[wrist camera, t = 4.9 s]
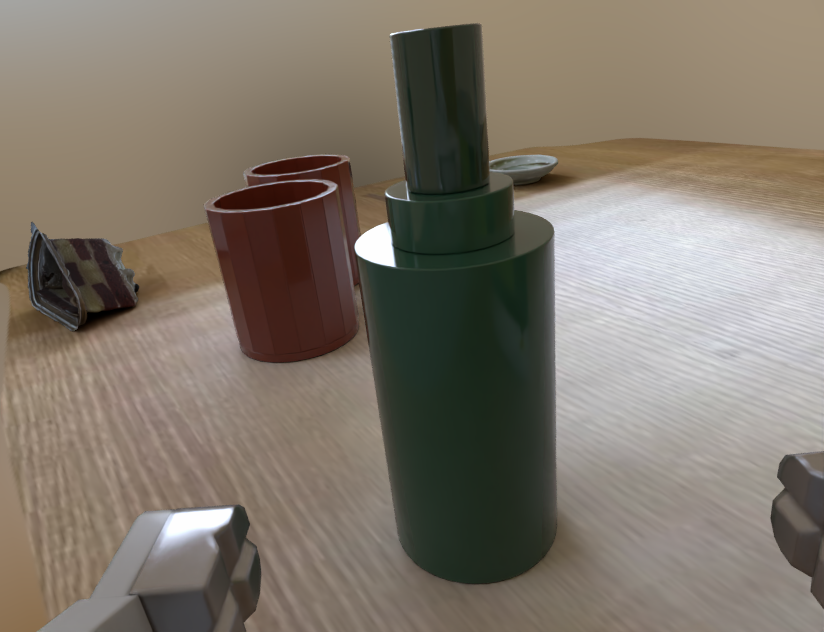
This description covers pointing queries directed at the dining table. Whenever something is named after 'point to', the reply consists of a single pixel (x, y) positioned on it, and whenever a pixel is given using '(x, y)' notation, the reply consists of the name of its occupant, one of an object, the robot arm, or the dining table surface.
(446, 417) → the bottle
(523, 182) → the saucer
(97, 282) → the checkered pouch
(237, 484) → the dining table surface
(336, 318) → the near cup
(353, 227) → the far cup
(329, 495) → the dining table surface
